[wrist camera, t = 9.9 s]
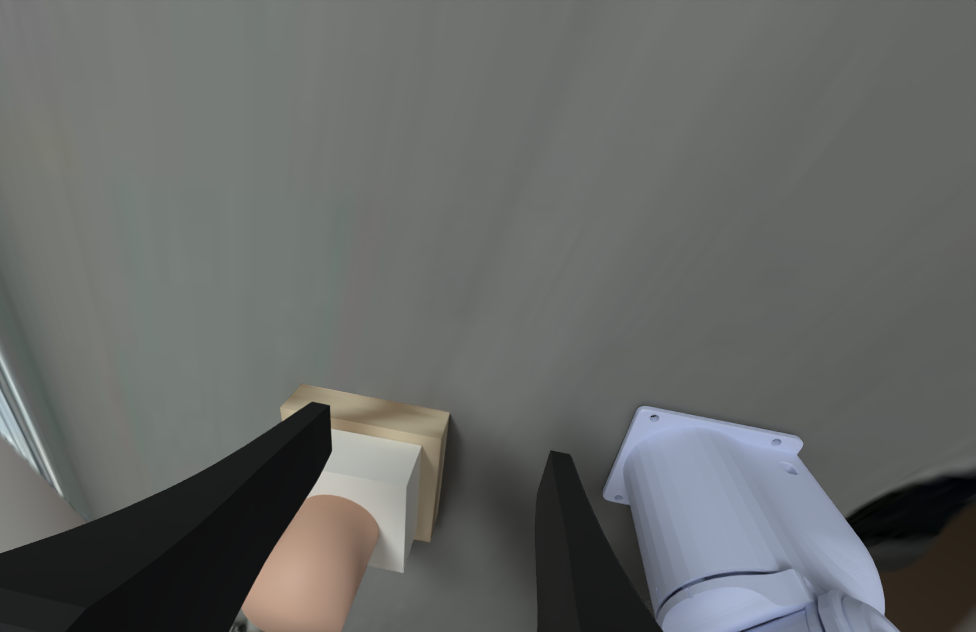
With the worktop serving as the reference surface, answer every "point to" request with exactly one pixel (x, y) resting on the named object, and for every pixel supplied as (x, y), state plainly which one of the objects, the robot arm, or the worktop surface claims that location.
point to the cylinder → (314, 568)
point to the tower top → (377, 489)
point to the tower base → (389, 436)
